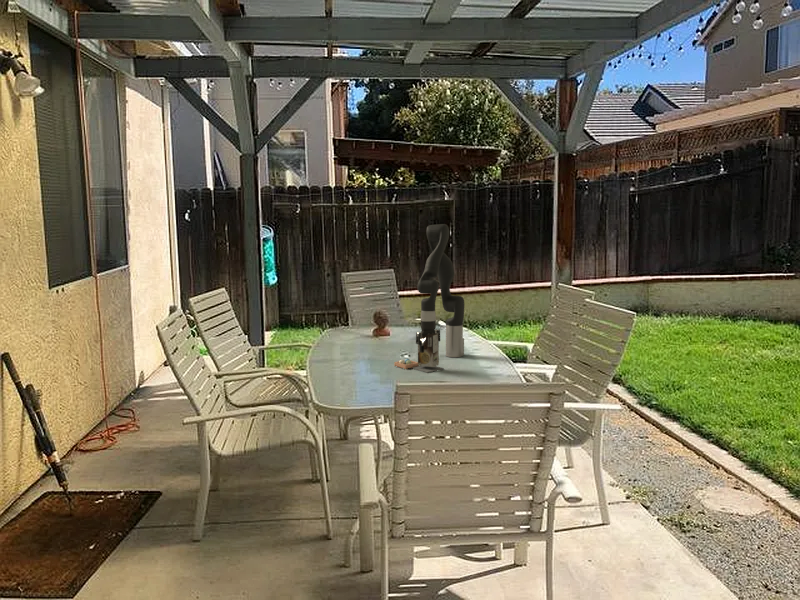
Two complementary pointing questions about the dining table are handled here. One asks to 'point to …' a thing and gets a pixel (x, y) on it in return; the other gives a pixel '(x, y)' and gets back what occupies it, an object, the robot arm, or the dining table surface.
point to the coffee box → (429, 351)
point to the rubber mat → (427, 368)
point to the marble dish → (414, 364)
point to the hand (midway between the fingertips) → (428, 351)
